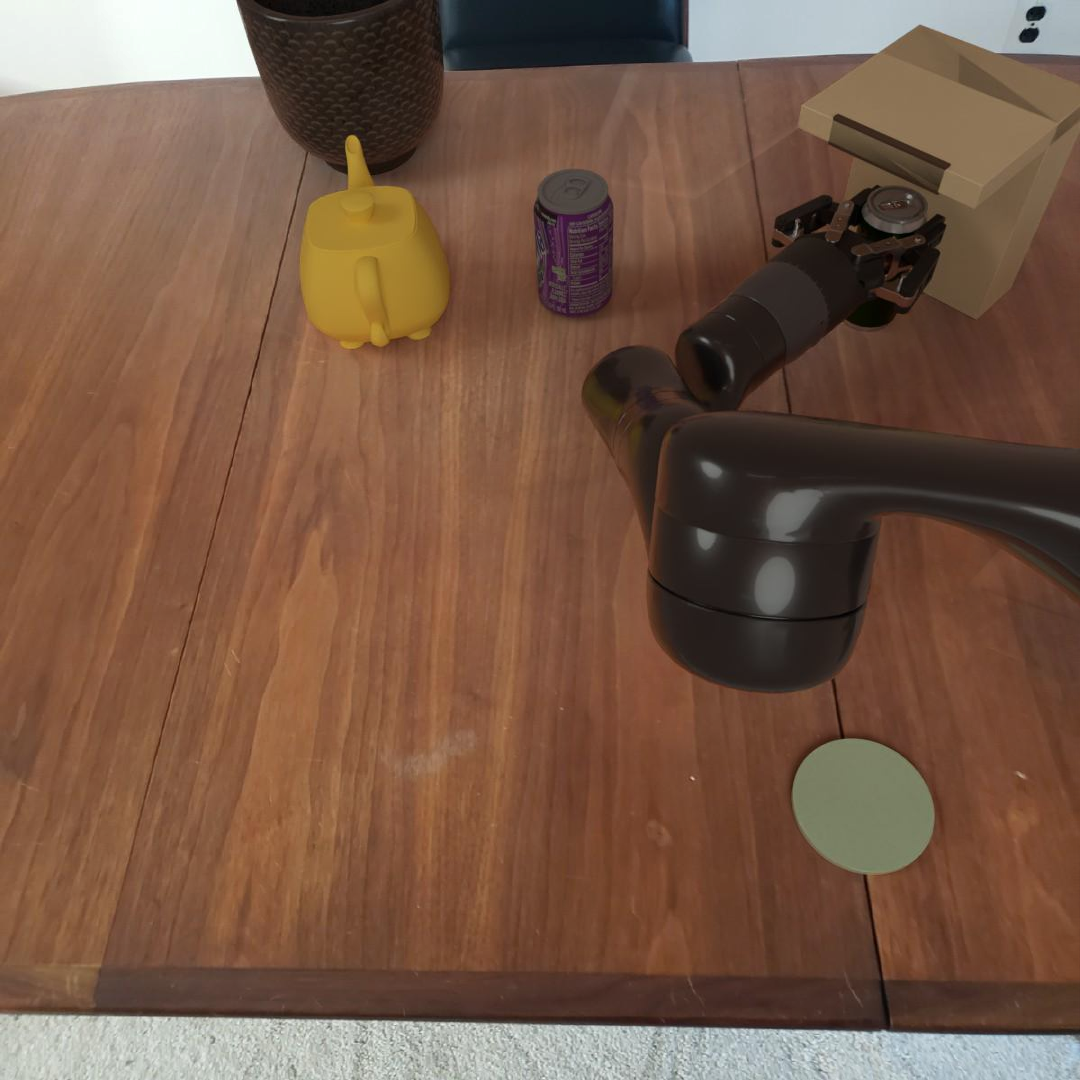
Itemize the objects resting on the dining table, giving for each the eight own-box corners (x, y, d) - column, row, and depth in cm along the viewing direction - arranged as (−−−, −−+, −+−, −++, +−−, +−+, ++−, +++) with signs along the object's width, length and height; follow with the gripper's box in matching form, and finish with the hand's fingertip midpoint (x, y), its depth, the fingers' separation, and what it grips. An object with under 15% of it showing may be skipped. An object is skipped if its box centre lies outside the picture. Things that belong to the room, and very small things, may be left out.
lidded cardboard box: (911, 380, 85) (983, 183, 69) (766, 297, 93) (801, 102, 76) (1033, 268, 93) (1124, 68, 77) (890, 199, 100) (946, 3, 84)
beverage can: (554, 267, 97) (549, 159, 87) (621, 282, 95) (624, 173, 85) (527, 313, 93) (519, 205, 83) (597, 329, 91) (597, 221, 81)
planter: (423, 212, 103) (393, 31, 87) (254, 190, 106) (196, 12, 91) (478, 110, 114) (460, -67, 98) (323, 93, 117) (282, -80, 102)
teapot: (314, 386, 88) (277, 273, 78) (310, 249, 100) (277, 135, 90) (463, 364, 89) (446, 250, 79) (442, 231, 101) (424, 116, 90)
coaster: (946, 773, 65) (948, 770, 64) (913, 899, 60) (916, 896, 60) (813, 721, 67) (815, 718, 67) (772, 838, 63) (774, 835, 62)
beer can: (849, 338, 89) (881, 228, 79) (826, 300, 92) (853, 190, 82) (904, 327, 89) (942, 216, 80) (879, 290, 92) (913, 178, 83)
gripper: (873, 312, 71) (999, 206, 77) (720, 229, 77) (848, 137, 84) (851, 385, 77) (969, 281, 83) (711, 302, 83) (831, 212, 90)
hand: (908, 209), depth 83 cm, fingers closed on beer can, 5 cm apart
